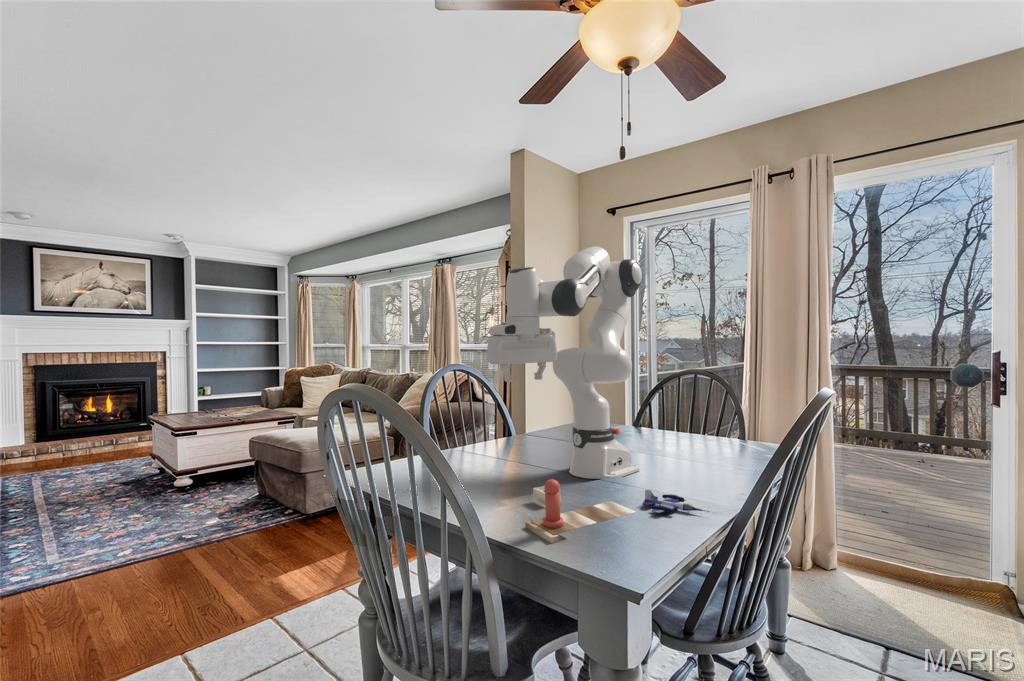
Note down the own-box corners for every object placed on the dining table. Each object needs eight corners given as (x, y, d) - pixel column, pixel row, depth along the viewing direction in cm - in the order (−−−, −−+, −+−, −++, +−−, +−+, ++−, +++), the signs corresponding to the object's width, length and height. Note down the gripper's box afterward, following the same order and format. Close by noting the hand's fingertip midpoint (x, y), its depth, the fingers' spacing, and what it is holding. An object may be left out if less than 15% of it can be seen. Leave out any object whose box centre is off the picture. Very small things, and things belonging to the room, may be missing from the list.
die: (549, 504, 123) (549, 484, 123) (561, 510, 119) (561, 489, 119) (533, 508, 121) (532, 487, 121) (544, 514, 117) (544, 493, 116)
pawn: (555, 519, 109) (554, 475, 109) (567, 525, 105) (566, 480, 105) (539, 523, 107) (538, 478, 107) (550, 530, 103) (549, 484, 103)
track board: (612, 505, 122) (612, 499, 122) (641, 517, 113) (641, 511, 113) (525, 527, 108) (525, 521, 108) (551, 543, 100) (551, 536, 100)
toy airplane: (715, 524, 109) (715, 508, 109) (655, 528, 107) (655, 511, 107) (688, 504, 122) (687, 490, 122) (634, 507, 120) (634, 493, 120)
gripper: (548, 328, 136) (548, 377, 136) (483, 328, 126) (484, 381, 126) (561, 327, 131) (562, 379, 131) (495, 328, 120) (496, 383, 120)
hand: (523, 380), depth 128 cm, fingers open, 8 cm apart
